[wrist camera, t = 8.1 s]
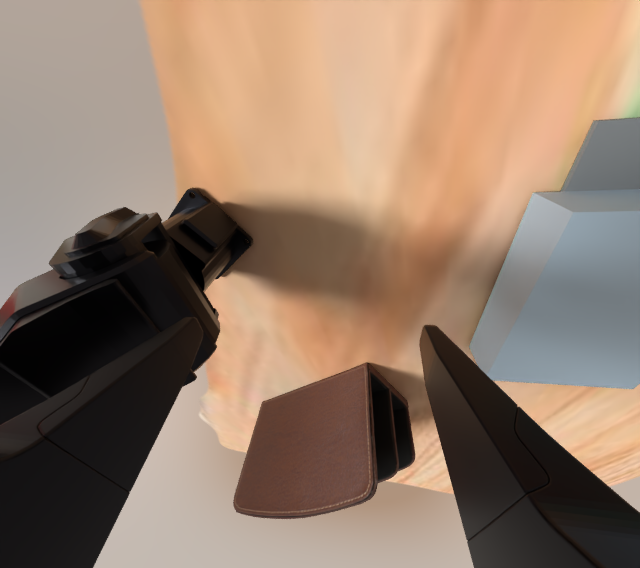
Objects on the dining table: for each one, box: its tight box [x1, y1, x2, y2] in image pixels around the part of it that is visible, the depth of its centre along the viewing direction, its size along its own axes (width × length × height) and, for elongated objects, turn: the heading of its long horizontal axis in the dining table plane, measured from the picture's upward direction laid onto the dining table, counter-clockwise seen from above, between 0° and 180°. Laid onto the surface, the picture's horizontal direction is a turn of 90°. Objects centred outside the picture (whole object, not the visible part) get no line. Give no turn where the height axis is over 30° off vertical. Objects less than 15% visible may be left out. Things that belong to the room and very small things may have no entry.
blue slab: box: [469, 189, 640, 389], centre depth 19 cm, size 4×16×12 cm
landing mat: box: [560, 117, 640, 192], centre depth 21 cm, size 16×24×1 cm, turn 4°
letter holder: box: [233, 363, 415, 519], centre depth 31 cm, size 10×20×14 cm, turn 129°
